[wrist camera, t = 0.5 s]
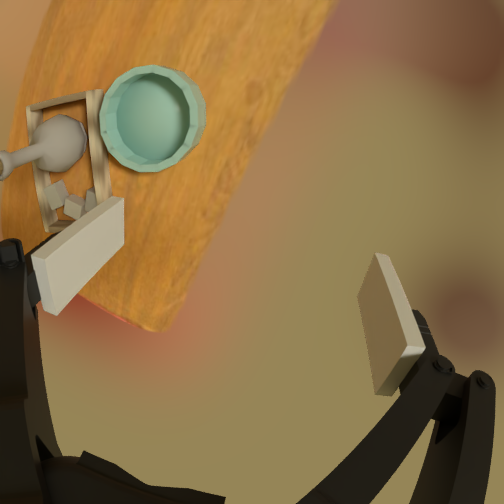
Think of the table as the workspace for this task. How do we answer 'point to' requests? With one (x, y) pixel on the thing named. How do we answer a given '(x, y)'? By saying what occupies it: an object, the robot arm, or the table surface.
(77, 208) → the pebble
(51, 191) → the grey block
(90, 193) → the pebble
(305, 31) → the table surface
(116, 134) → the bowl
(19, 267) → the robot arm
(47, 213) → the tray
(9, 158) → the potion bottle
